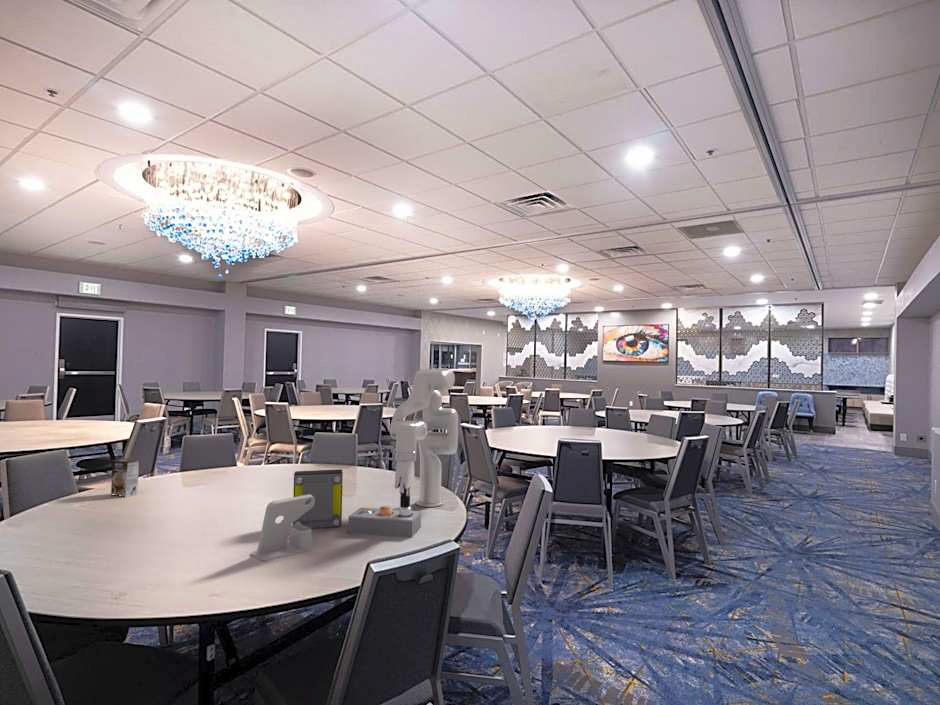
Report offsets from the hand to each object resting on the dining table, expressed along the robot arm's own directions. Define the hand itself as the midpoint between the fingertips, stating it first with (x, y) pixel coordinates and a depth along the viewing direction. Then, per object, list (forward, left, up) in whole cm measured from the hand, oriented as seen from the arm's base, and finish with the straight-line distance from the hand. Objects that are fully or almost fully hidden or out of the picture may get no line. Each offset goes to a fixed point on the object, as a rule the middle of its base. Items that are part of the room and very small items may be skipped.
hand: (405, 506), depth 193 cm
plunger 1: (0, -15, -8) cm, 17 cm away
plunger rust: (0, -8, -6) cm, 10 cm away
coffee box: (-23, -141, -10) cm, 143 cm away
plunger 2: (0, 0, -5) cm, 5 cm away
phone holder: (+28, -33, -10) cm, 44 cm away
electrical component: (0, -35, -10) cm, 36 cm away
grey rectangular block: (0, -8, -9) cm, 12 cm away
